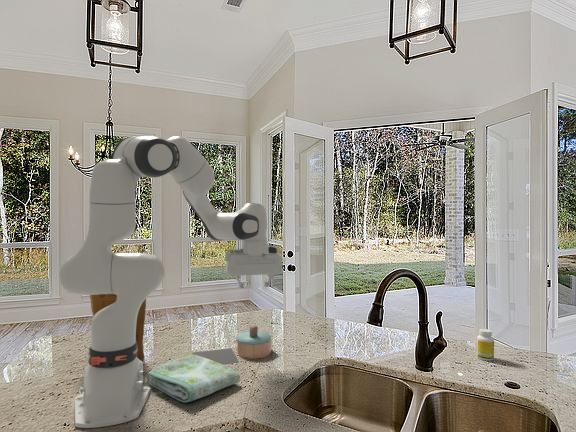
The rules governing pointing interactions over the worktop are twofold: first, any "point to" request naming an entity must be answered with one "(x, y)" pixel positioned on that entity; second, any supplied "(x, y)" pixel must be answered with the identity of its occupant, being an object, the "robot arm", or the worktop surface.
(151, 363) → the worktop surface
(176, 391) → the towel
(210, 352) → the mat
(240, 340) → the lid
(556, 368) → the worktop surface
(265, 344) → the bowl
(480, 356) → the supplement bottle
